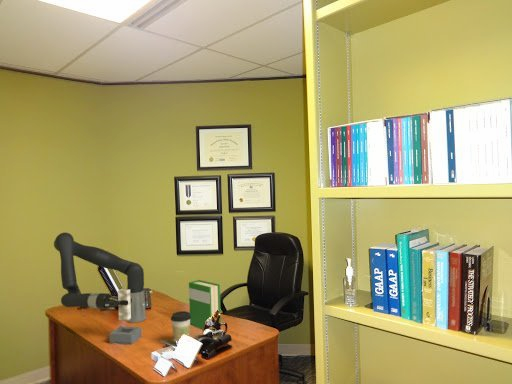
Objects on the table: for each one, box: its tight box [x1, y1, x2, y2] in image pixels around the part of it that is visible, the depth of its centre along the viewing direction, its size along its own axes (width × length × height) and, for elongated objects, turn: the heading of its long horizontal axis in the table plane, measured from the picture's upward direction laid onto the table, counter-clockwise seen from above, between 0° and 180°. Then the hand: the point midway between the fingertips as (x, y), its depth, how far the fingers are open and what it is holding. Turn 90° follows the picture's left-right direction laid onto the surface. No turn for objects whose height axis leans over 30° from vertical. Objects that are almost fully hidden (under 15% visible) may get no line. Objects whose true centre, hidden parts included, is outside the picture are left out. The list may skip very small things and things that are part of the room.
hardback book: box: [188, 279, 222, 330], centre depth 209 cm, size 18×7×24 cm, turn 48°
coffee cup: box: [170, 311, 191, 342], centre depth 186 cm, size 10×10×15 cm
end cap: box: [108, 326, 143, 346], centre depth 194 cm, size 12×10×5 cm
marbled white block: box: [117, 288, 131, 321], centre depth 193 cm, size 5×3×15 cm, turn 78°
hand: (129, 301), depth 193 cm, fingers closed on marbled white block, 3 cm apart
